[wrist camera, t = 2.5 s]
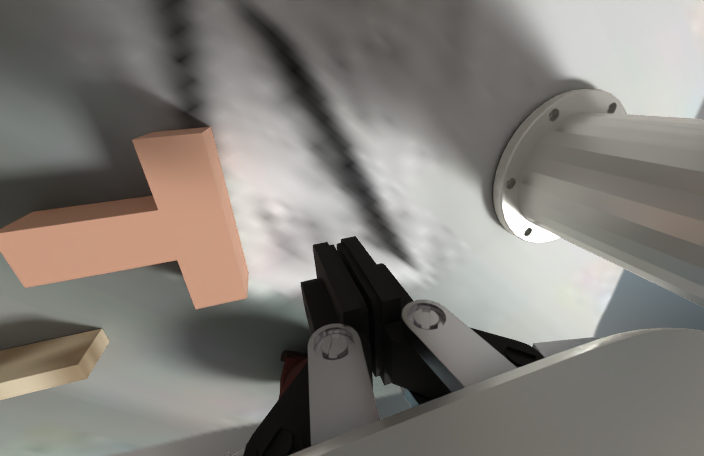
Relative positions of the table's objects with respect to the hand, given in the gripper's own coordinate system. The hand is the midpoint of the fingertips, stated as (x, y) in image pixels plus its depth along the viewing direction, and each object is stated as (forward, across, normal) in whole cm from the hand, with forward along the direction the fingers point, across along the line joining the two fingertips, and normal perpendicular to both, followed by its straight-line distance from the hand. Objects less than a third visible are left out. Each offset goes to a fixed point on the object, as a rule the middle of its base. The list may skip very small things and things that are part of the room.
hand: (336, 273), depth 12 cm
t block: (+10, +9, 0) cm, 14 cm away
